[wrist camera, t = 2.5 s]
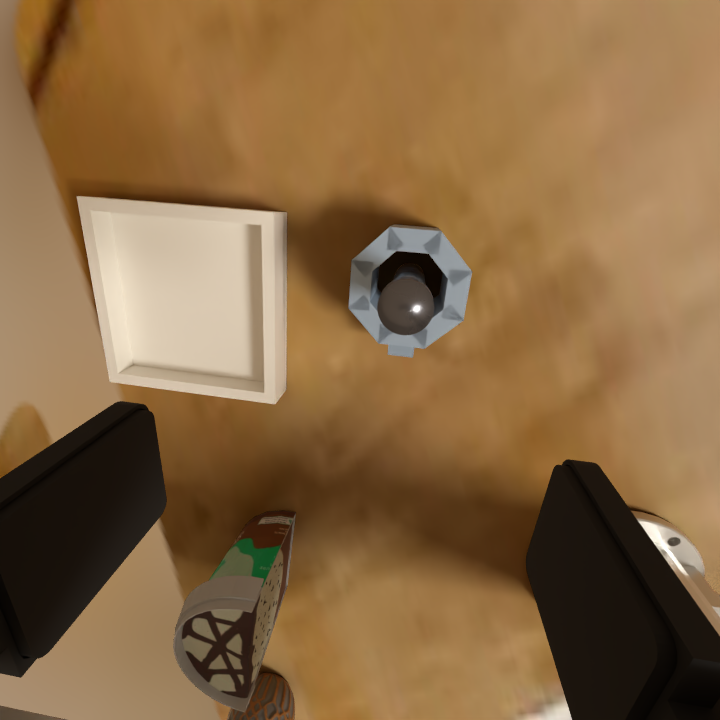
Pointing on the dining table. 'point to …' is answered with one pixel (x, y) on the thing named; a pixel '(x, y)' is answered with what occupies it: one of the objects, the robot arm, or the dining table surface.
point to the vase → (268, 700)
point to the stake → (406, 301)
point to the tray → (190, 295)
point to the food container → (236, 611)
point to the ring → (445, 304)
